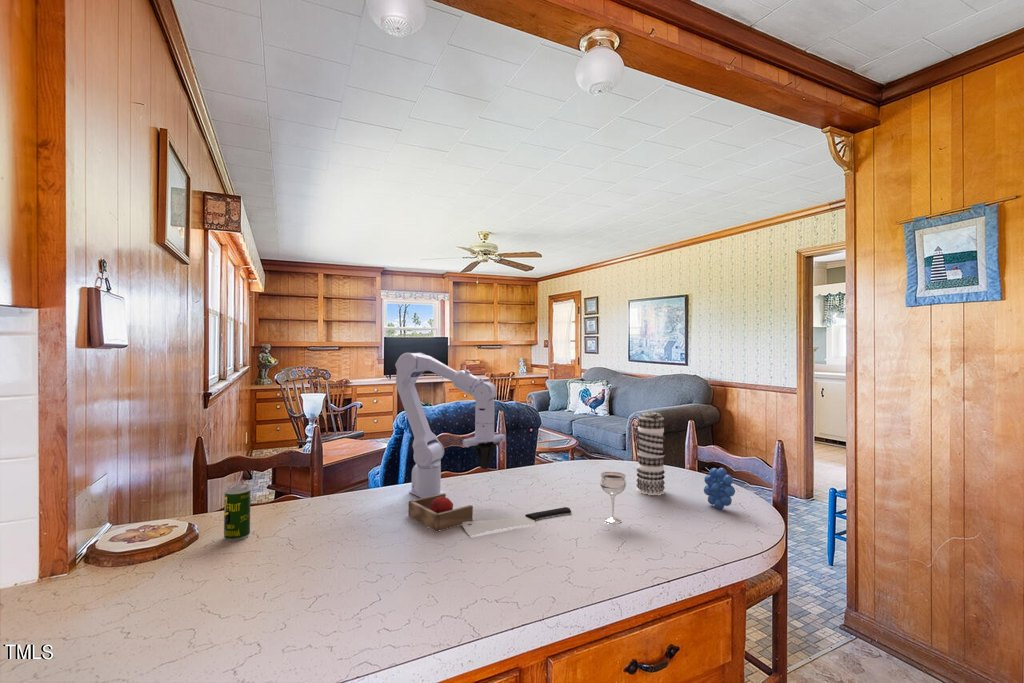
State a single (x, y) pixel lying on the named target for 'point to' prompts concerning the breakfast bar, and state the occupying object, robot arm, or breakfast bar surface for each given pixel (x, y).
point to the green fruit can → (237, 512)
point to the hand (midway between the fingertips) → (484, 468)
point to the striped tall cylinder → (650, 454)
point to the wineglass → (613, 488)
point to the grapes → (719, 488)
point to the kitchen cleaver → (510, 521)
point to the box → (438, 514)
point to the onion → (441, 505)
